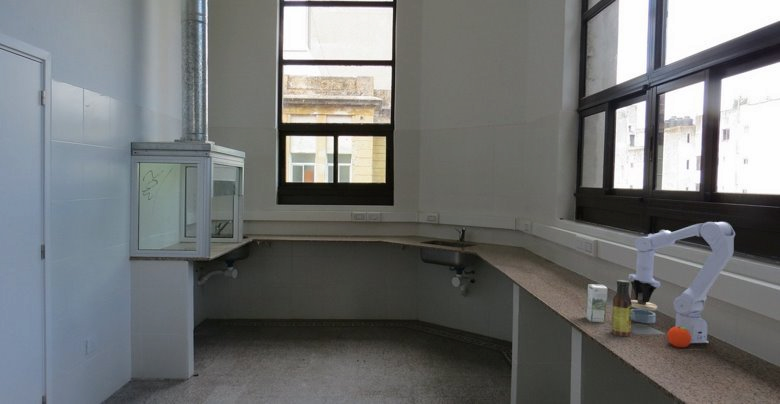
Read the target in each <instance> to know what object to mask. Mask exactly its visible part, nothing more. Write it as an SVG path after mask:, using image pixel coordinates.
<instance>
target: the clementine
mask: <svg viewBox="0 0 780 404" xmlns="http://www.w3.org/2000/svg"><path fill="white" fill-rule="evenodd" d="M686 329H687V328H684V327H680V326H679V327H675V326H673V327H670V328H669V330H668V331H667V334H666V337H667V339H668V342H669V343H670V344H671V345H672V346H674V347H676V348H686V347H688V346H690V344H691V343H690V342H691V335H690V333H689V332H688V331H687V330H689V329H687V330H686ZM691 332H692V331H691ZM693 334H694V333H693ZM694 336H695V335H694Z"/></svg>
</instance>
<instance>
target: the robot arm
mask: <svg viewBox="0 0 780 404" xmlns="http://www.w3.org/2000/svg"><path fill="white" fill-rule="evenodd" d="M694 236H696V237H701V238H703V239H704V241H706V243H707V244H708V245H709V246H710V248H711V250H712V252H711V253H710V255H709V256H708V258H707V259H706V261H705V262H704V264H703V266H702V267H701V269H700V271H698V273H697V275H696V277H694V280H693V281H691V282H692V283H691V284H690V285H689V287H688V288H687V289H685V290H684V291H683V292H682V293H681V294H680V295H679V296H677V297H675V299H674V300H673V305H672V307H673V309H674V310H675V313H676V315H675V326H674V327H679V326H680V327H684V328H687V329H689V330H687V329H686V330H687V331H688V332H689V333H690V335H691V342H690V344H708V343H709V341H708V329H709V326H708V323H707V321H706V320H705V319H703V318H702V317H701V311H703V310H704V309H705V303H706V300H707V299H708V297H707V293H708V292H709V290H710V289H711V287H712V286H713V284H714V283H715V281H717V279H718V277H719V275H720V274H721V272H722V271H723V270H724V268H725V266H726V265H727V264H728V263H729V261H730V259H731V257H733V255H734V252H735V251H734V250H735V249H734V246H735V245H734V243H735V242H734V240H735V236H736V232H735V230H734V229H733V227H732V225H731V224H730V223H729V222H726V221H718V222H717V221H714V222H713V221H707V222H704V223H703V222H702V223H696V224H692V225H689V226H687V227H684V228H683V227H682V228H681V229H678V230H675V231H671V230H668V229H666V230H665V229H661V230H659V232H657V233H649V234H647V236H640V237H637V239H636V240H635V241H634V246H635V249H636V250H637V251H636V253H637V255H636V256H637V257H636V266H635V267H636V269H635V270H636V271H635V272H636V273H635V274H634V273H629V274H628V279H629V280H630V284H631V287H632V286H633V288H634V291H635V295H636V300H638V293H642V294H643V297H642V298H643V302H649V303H650V299H651V296H652V295H653V293H654V292H655V290H656V289H657V288H661V281H658V280H657V279H656V280H655V278H653V277H654V275H653V274H654V258H655V253H656V250H658V249H661V248H665V247H668V246H673V245H674V244H675V243H676V241H678V240H682V239H687V238H690V237H694ZM631 280H633V281H631ZM691 331H692V332H691ZM693 333H694V334H693ZM694 335H695V336H694Z"/></svg>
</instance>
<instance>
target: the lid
mask: <svg viewBox="0 0 780 404" xmlns="http://www.w3.org/2000/svg"><path fill="white" fill-rule="evenodd" d="M642 297H643V294H642V293H638V301H637V300H631V302H632V307H634V308H638V309H643V310H648V311H657V310H658V306H657V305H656V304H655V303H652V302H650V301H649V302H643V298H642Z"/></svg>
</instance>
